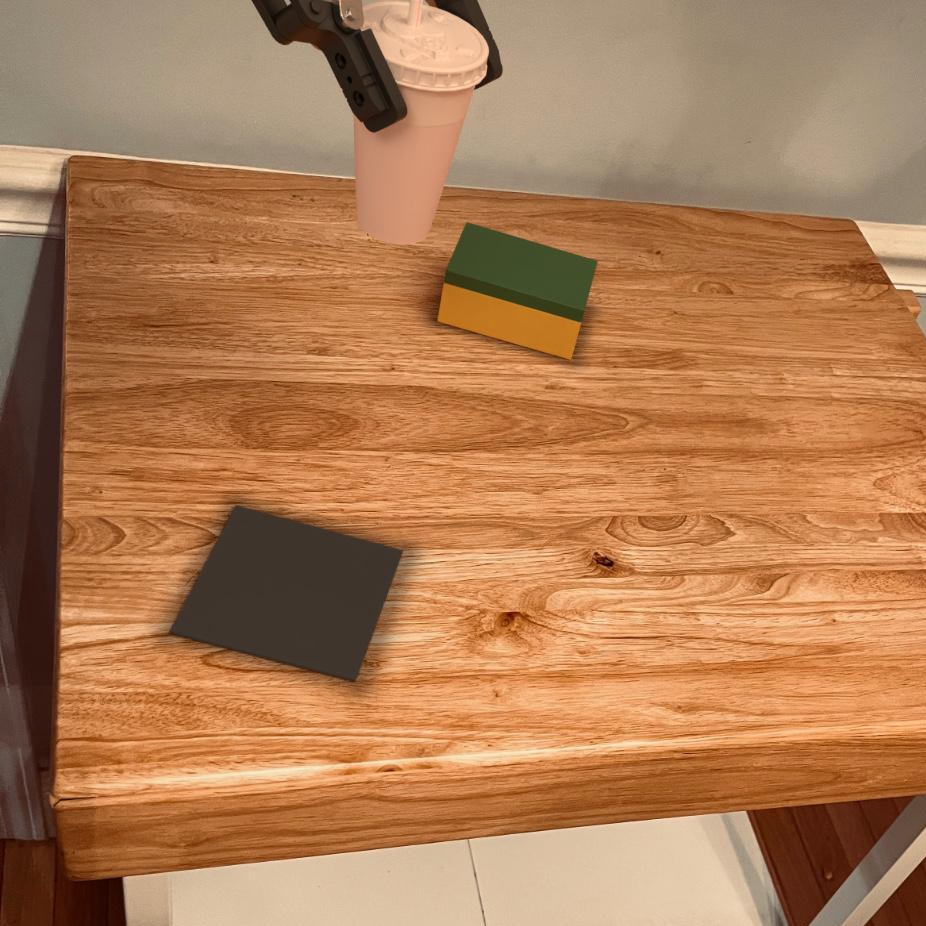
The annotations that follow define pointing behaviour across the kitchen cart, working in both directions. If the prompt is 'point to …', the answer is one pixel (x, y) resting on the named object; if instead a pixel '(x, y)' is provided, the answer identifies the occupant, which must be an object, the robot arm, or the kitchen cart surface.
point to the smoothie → (415, 116)
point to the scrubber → (516, 290)
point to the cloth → (290, 593)
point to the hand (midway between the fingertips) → (439, 102)
